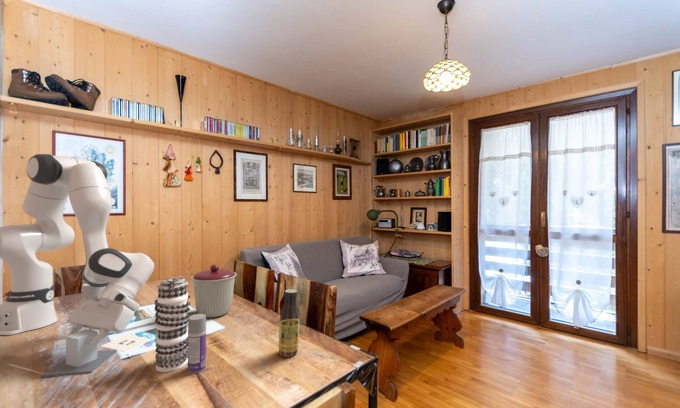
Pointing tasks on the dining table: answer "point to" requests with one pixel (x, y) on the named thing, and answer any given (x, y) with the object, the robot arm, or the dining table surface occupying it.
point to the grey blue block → (80, 348)
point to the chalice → (92, 295)
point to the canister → (213, 291)
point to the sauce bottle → (289, 325)
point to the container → (196, 343)
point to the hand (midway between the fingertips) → (79, 343)
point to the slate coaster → (87, 368)
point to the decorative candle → (172, 324)
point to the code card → (126, 343)
